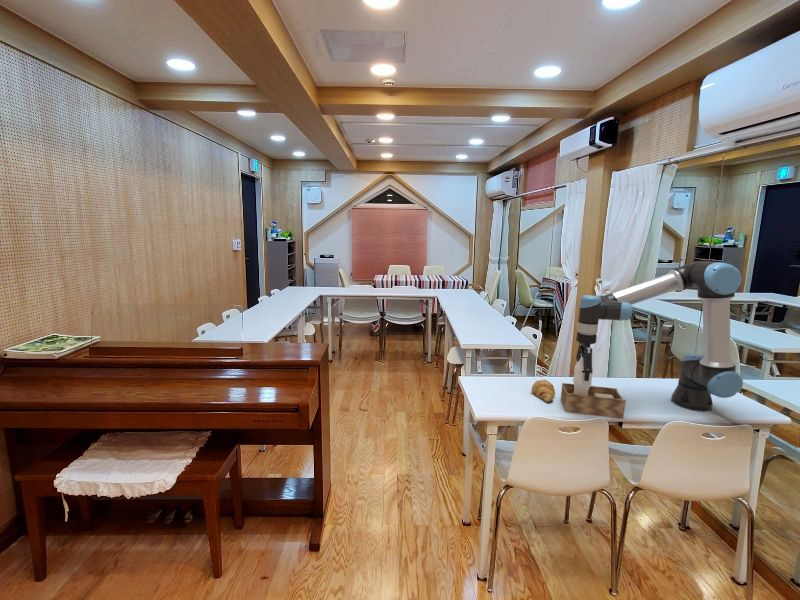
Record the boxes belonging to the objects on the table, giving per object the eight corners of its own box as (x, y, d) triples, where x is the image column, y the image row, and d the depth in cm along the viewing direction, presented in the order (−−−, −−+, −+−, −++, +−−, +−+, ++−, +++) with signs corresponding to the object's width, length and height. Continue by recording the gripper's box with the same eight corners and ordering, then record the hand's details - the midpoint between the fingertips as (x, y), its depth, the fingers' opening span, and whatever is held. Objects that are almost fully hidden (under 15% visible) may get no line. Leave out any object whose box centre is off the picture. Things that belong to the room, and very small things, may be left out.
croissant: (554, 411, 180) (565, 397, 179) (534, 400, 180) (545, 385, 179) (542, 392, 201) (551, 379, 199) (524, 382, 201) (534, 368, 199)
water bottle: (589, 406, 176) (596, 350, 172) (587, 412, 170) (594, 354, 166) (571, 402, 180) (577, 347, 175) (568, 407, 173) (575, 350, 169)
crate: (614, 407, 178) (616, 388, 176) (623, 420, 165) (625, 400, 164) (560, 401, 183) (562, 382, 181) (564, 413, 170) (566, 394, 169)
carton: (610, 406, 177) (611, 394, 176) (616, 416, 167) (618, 403, 166) (593, 404, 178) (594, 392, 177) (598, 414, 169) (599, 401, 168)
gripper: (572, 325, 182) (567, 371, 186) (583, 339, 158) (577, 391, 162) (590, 327, 181) (585, 373, 184) (604, 341, 157) (598, 394, 160)
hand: (581, 382), depth 173 cm, fingers open, 13 cm apart
